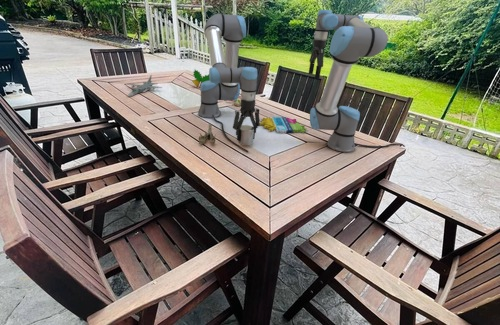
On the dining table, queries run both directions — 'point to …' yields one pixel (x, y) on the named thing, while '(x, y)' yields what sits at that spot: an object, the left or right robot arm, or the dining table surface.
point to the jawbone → (207, 136)
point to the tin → (246, 134)
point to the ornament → (199, 78)
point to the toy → (236, 101)
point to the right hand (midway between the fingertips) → (313, 76)
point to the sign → (282, 125)
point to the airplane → (143, 87)
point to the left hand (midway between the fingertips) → (245, 139)
